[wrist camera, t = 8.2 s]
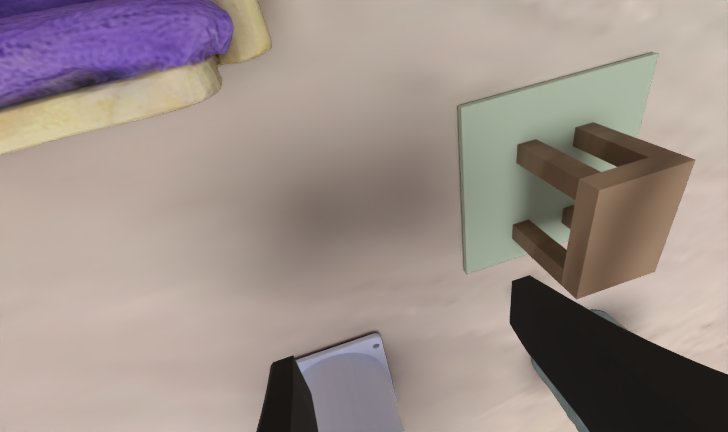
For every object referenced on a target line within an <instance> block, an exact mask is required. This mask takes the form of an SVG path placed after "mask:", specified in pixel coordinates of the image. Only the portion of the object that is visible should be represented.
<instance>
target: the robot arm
mask: <svg viewBox="0 0 728 432" xmlns="http://www.w3.org/2000/svg"><path fill="white" fill-rule="evenodd" d="M510 325H511V326H512V328H513V330H514V331H515V333H516V335H517V336H518V338H519V339H520V341H521V343H522V344H523V346H524V347H525V349H526V350H527V352H528V353H529V355H530V356H531V357H532V358H533V360H534V361H535V362H536V364H537V365H538V366H539V367H540V369H541V370H542V371H543V372H544V374H545V375H546V376H547V378H548V379H549V380H550V381H551V383H552V384H553V385H554V386H555V388H556V389H557V390H558V391H559V393H560V394H561V395H562V396H563V398H564V399H565V400H566V401H567V403H568V404H569V405H570V406H571V408H572V409H573V410H574V411H575V413H576V414H577V415H578V417H579V418H580V419H581V421H582V422H583V423H584V425H585V426H586V427H587V429H588V430H589V432H728V374H725V373H722V372H720V371H717V370H714V369H712V368H709V367H707V366H705V365H702V364H700V363H697V362H695V361H692V360H690V359H688V358H686V357H683V356H681V355H679V354H676V353H674V352H672V351H670V350H667V349H665V348H663V347H661V346H658V345H656V344H654V343H652V342H650V341H648V340H646V339H644V338H642V337H640V336H638V335H636V334H634V333H632V332H630V331H628V330H626V329H624V328H622V327H620V326H618V325H616V324H614V323H612V322H610V321H608V320H607V319H605V318H603V317H601V316H599V315H597V314H596V313H594V312H592V311H590V310H588V309H587V308H585V307H583V306H581V305H580V304H578V303H576V302H574V301H573V300H571V299H569V298H567V297H566V296H564V295H562V294H561V293H559V292H557V291H555V290H554V289H552V288H550V287H549V286H547V285H545V284H544V283H542V282H540V281H538V280H537V279H535V278H533V277H532V276H530V275H529V276H526V277H523V278H520V279H517V280H514V281H512V292H511V307H510ZM396 402H397V400H396V396H395V392H394V388H393V384H392V380H391V376H390V372H389V368H388V364H387V360H386V356H385V352H384V348H383V344H382V340H381V337H380V335H379V334H376V333H374V334H371V335H368V336H365V337H362V338H359V339H356V340H353V341H350V342H347V343H344V344H341V345H338V346H336V347H333V348H330V349H327V350H324V351H321V352H318V353H315V354H312V355H309V356H306V357H303V358H300V359H297V360H295V358H294V356H290V357H287V358H284V359H282V360H279V361H276V362H273V363H272V365H271V368H270V374H269V380H268V385H267V390H266V395H265V399H264V404H263V408H262V412H261V416H260V420H259V424H258V428H257V431H256V432H405V430H404V427H403V424H402V421H401V418H400V415H399V412H398V409H397V406H396Z"/></svg>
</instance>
